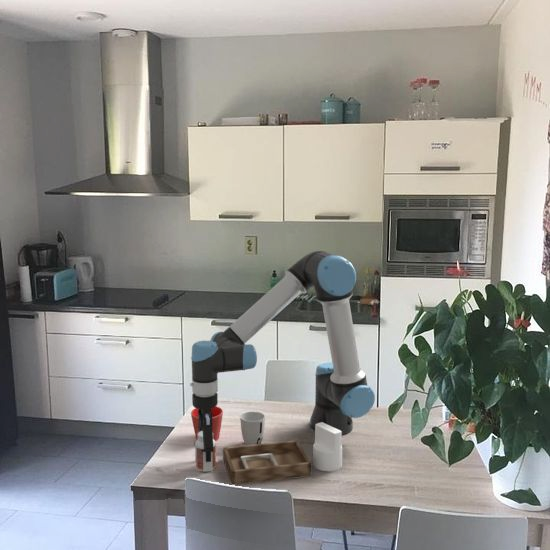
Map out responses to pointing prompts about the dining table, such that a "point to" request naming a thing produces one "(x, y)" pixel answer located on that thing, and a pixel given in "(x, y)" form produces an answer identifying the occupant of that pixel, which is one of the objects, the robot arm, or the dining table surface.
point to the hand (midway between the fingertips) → (205, 462)
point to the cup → (252, 427)
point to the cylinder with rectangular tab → (327, 448)
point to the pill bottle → (199, 454)
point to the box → (266, 462)
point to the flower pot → (216, 421)
